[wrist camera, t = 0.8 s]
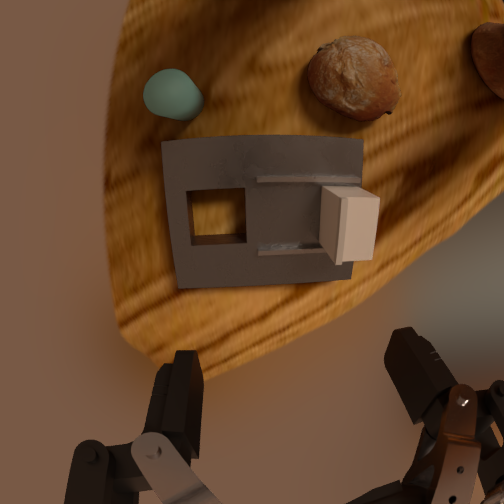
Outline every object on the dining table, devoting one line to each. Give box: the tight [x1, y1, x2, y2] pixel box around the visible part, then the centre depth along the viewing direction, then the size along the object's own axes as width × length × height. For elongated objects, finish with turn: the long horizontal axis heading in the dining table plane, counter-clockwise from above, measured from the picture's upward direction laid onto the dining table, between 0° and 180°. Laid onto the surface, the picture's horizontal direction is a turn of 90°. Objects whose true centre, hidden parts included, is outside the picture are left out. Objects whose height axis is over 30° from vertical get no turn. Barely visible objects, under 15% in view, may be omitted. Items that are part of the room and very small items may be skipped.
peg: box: [143, 69, 204, 121], centre depth 21 cm, size 4×4×8 cm
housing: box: [161, 135, 363, 289], centre depth 29 cm, size 16×20×4 cm
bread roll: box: [307, 36, 401, 121], centre depth 23 cm, size 10×10×8 cm
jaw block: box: [319, 186, 380, 265], centre depth 25 cm, size 6×4×6 cm, turn 1°
